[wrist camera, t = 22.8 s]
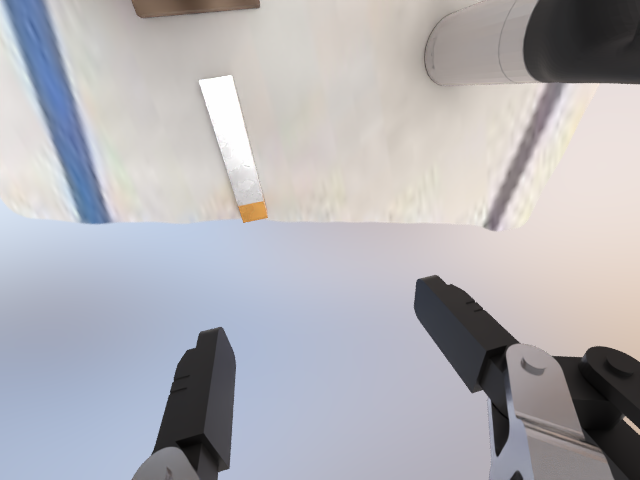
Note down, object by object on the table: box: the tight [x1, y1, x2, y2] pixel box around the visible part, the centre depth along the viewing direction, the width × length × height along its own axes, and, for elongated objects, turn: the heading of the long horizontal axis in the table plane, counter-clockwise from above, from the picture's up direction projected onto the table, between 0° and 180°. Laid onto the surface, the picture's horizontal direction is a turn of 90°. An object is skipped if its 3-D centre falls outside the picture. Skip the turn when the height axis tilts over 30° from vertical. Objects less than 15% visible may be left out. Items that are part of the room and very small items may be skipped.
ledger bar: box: [199, 76, 268, 223], centre depth 39 cm, size 4×20×4 cm, turn 7°
